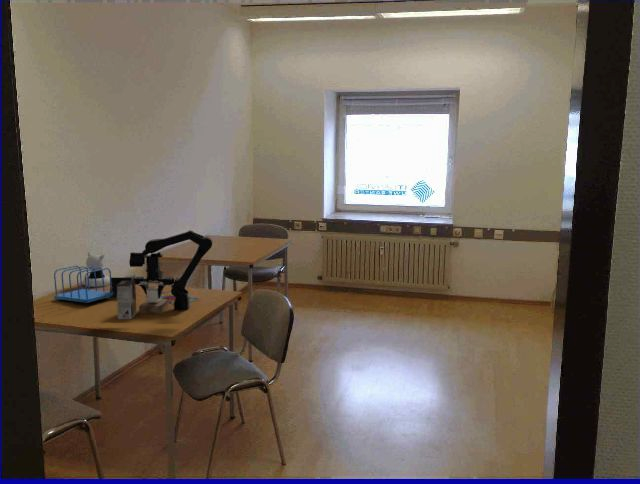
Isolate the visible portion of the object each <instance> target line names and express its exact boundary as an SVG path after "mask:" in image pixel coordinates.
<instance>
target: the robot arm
mask: <svg viewBox="0 0 640 484" xmlns="http://www.w3.org/2000/svg"><path fill="white" fill-rule="evenodd" d="M185 241H191V242H192V243H194V244H196V245H198V247H197V250H196V252H195V253H194V254H193V255H194V256H192V258H191V260H190V262H188V264H187V267H186V268H185V270H184V272H183V273H182V274H181V276H180V277H179V278H178V277H175V278H174V277H173V276H165V277H164V271H163V270H161V268H160V267H161V266H160V258H163V256H164V254H163V253H161V250H162V249H164V248H166V247H169V246H173V245H177V244H179V243H182V242H183V243H184V242H185ZM144 246H145V247H144V250H142V252H130V254H129V267H130V268H132V267H133V268H136V267H137V268H140V267H141V268H142V267H144V265H146V269H145V272H146V278H145V277H144V276H135V278H133V280H132V281H135V285H136V286H138V287H141V289H142V290H143V292H144V294H145V295H146V296H147V290H146V289H147V288H148V287H150V284H151V283H152V284H153V283H156V284H157V283H159V284H158V285H157V286H158V297H159V299H160V297H161V294H162V292H163V290H164V288H165V287H166V286H170V288H171V289H170V291H171V293H172V295H173V296H175V301H174V304H173V309H174V310H175V311H189V309H190V302H189V297H188V296H189V294H190V292H189V291H188V290H187V289H186V285H187V284H188V281H189V280H190V277H191V276H192V274H193V273H194V271H195V269H196V267H197V266H198V265H199V263H200V261H202V258H203V257H204V256H205V255H206V254H207V253H208V252H209V251H210V249H211V248H212V246H213V240H212V238H211V237H210V236H204V235H201V234H200V233H196V232H195V231H194V230H187V231H185V232H181V233H179V234H178V233H177V234H175V235H172V236H171V235H170V236H168V237H165V238H155V239H154V238H153V239H150V240H148V241H147V242H146V243H145V245H144ZM149 254H150V255H149ZM163 277H164V278H163ZM146 296H145V297H146Z"/></svg>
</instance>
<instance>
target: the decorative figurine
mask: <svg viewBox="0 0 640 484" xmlns="http://www.w3.org/2000/svg"><path fill="white" fill-rule="evenodd" d="M87 256H88V257H87V258H86V260H85V267H87V268H88V267H93V268H101V269H103V268H104V265H105V260H104V258H105V254H103V255H99V254H92V253H90V251H87ZM93 268H88V270H89V269H93ZM95 270H100V269H95ZM91 271H94V270H90V272H91ZM88 276H89V288H96V287H95V276H94V272H92V273H89V274H88ZM103 278H104V287H106V286H109V285H110V276H108V275H105V274H104V273H103ZM86 284H87V288H88V279H87V276H86ZM96 284H97V288H100V287H101V288H103V281H102V271H101V270H100V271H96ZM82 285H84V286H85V278H84V279H83V280H82Z"/></svg>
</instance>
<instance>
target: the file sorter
mask: <svg viewBox="0 0 640 484" xmlns="http://www.w3.org/2000/svg"><path fill="white" fill-rule="evenodd" d="M88 268H93V267H87V266H86V265H83V266H79V265H72V266H67V267H62V268H58V269H56V270H55V271H54V273H53V279H54V290H55V295H54V296H53V298H54V299H55V300H63V301H70V302H71V301H72V302H77V303H87V304H88V303H89V304H90V303H92V302H95V301H98V300H103V299H106V298H110V296H112V295H113V294H114V293H112V281H111V278H112V271H111V270H110V269H109V267H108V268H107V267H106V268H104V267H103V268H93V269H88ZM95 269H100V270H101V271H102V281H103V286H102V290H98V287H97V284H96V271H100V270H95ZM91 270H94V271H91ZM104 270H107V271H108V273H109V278H110V284H109V286H110V285H111V293H110V291H106V290H105V286H104V278H103V274H104ZM59 271H62V272H61V275H60V276H61V287H62V293H59V294H58V288H57V280H56V277H57V276H56V273H57V272H59ZM67 271H70V272H69V274H68V282H69V291H68V292H65V287H64V273H65V272H67ZM77 271H79V272H78V273H77V274H76V284H77V289H76V290H72V282H71V281H72V280H71V275H72V273H74V272H77ZM84 272H86V273H85V275H84V279H85V285H84V286H85V288H83V280H82V273H84ZM92 272H94V276H95V287H94V288H95V289H90V288H91V287H89V274H90V273H92ZM86 277H87V279H88V287H87V284H86ZM79 279H80V281H79ZM79 285H80V286H79Z"/></svg>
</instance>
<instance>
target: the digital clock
mask: <svg viewBox="0 0 640 484" xmlns="http://www.w3.org/2000/svg"><path fill="white" fill-rule="evenodd" d="M135 277H136V274H135V273H131V274H128V275H126V276H123V277H122V278H132V280H133V278H135ZM136 287H137V285H135V290H137V289H136Z"/></svg>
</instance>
